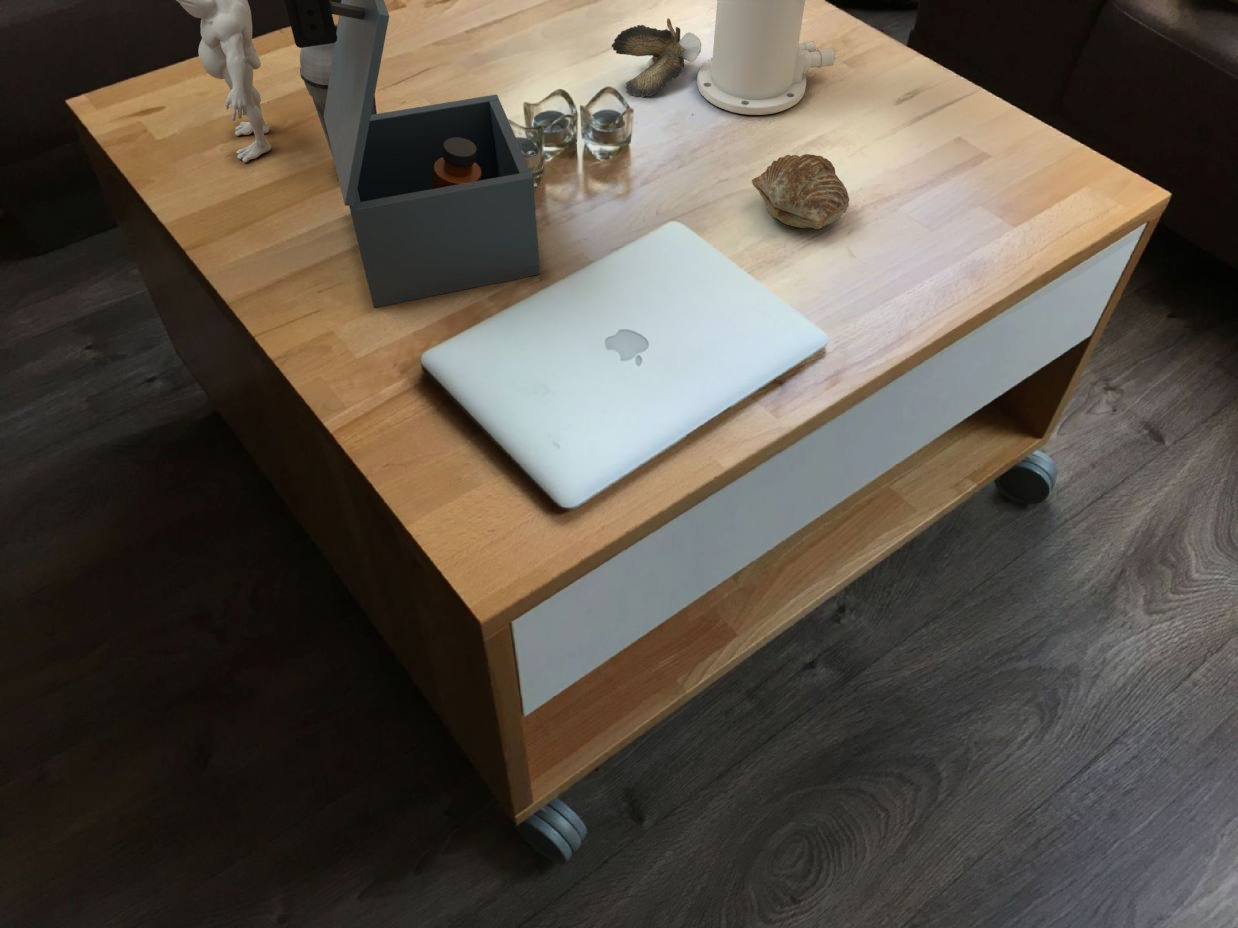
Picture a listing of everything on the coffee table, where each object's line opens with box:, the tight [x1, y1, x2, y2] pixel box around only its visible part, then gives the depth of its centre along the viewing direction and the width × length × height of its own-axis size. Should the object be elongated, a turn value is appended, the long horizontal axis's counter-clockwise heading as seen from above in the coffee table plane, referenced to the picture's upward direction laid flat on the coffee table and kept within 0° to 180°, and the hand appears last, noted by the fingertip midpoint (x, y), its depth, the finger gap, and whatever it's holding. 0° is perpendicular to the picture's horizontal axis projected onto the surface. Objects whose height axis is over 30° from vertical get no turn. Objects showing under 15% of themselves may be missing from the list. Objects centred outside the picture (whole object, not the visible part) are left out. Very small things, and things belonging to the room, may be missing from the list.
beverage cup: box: [299, 23, 378, 160], centre depth 101 cm, size 7×7×20 cm
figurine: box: [175, 0, 272, 163], centre depth 104 cm, size 18×7×18 cm, turn 16°
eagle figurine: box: [610, 17, 702, 98], centre depth 118 cm, size 8×7×9 cm
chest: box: [348, 94, 541, 308], centre depth 96 cm, size 16×14×11 cm
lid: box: [324, 0, 390, 207], centre depth 84 cm, size 17×14×5 cm
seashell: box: [751, 153, 850, 230], centre depth 101 cm, size 9×7×8 cm
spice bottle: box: [432, 137, 482, 189], centre depth 96 cm, size 4×4×10 cm
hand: (311, 23), depth 81 cm, fingers closed on lid, 5 cm apart
